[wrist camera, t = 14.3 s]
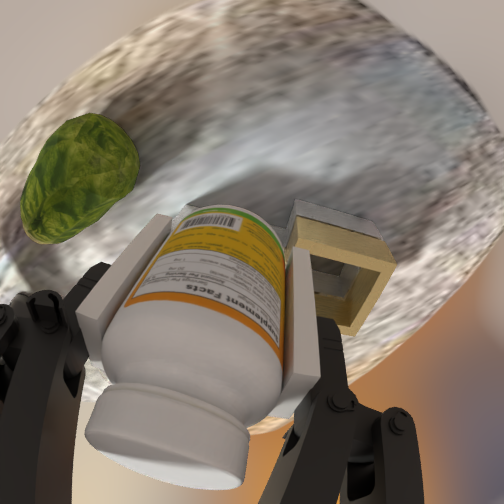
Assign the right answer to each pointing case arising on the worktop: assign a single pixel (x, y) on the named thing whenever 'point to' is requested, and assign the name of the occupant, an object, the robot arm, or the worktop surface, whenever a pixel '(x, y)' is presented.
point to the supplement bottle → (195, 352)
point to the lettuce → (77, 178)
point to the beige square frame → (351, 252)
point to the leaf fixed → (323, 281)
